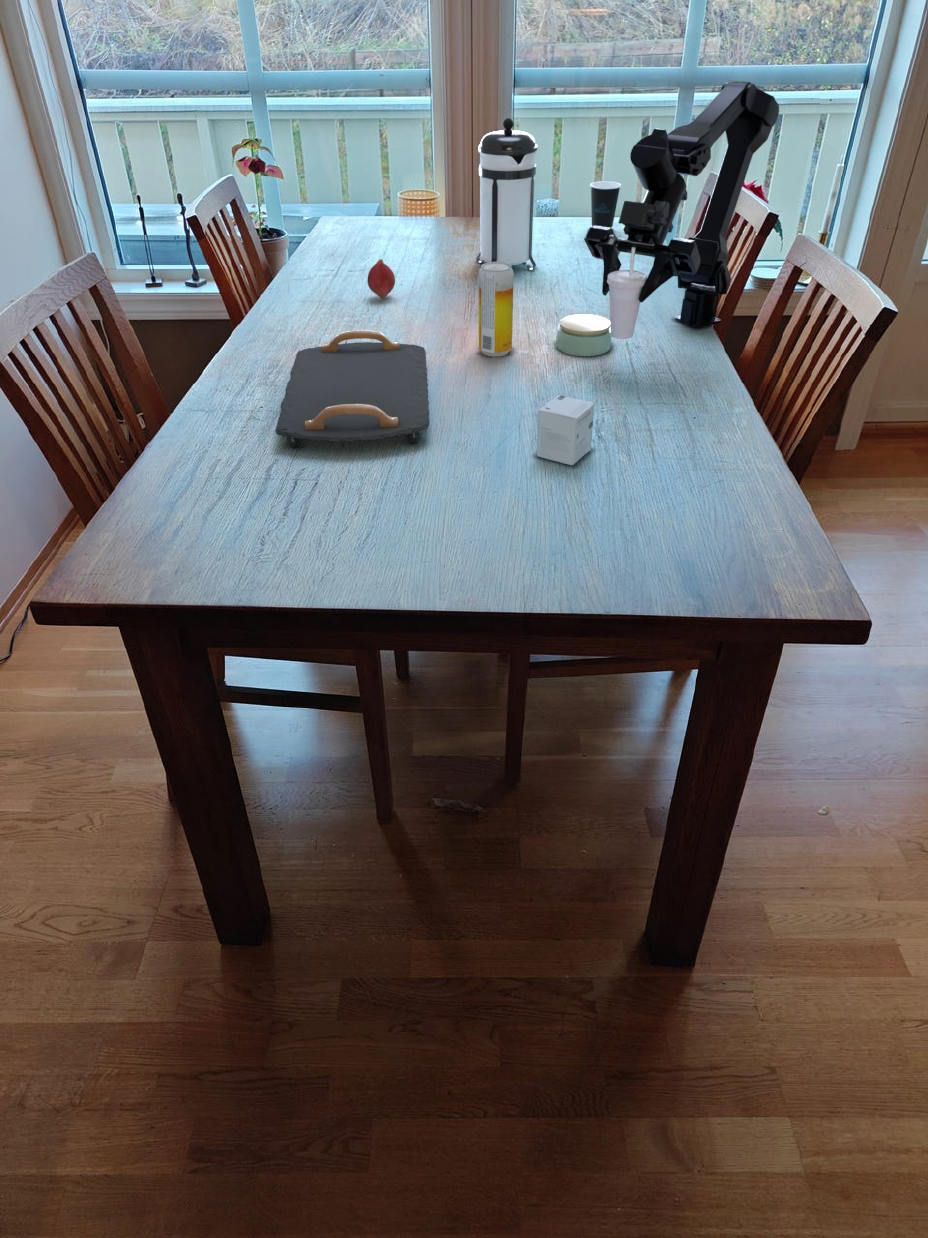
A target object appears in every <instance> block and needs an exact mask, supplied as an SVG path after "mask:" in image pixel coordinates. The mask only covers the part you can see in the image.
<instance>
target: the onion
mask: <svg viewBox="0 0 928 1238" xmlns="http://www.w3.org/2000/svg"><path fill="white" fill-rule="evenodd" d="M367 285H368V288H369V289H370V291H371V292H372V293H373V294H375V295H376V296H377V297H379V298H380V299H386V298H387V296H388V295H389V294H390V293H391V292H392V291H393V289H394V287H395V285H396V277H395V273H394V271H393V270H392V269H391V267H390V266H389V265H387V264H385V263H384V261H383V259H382V258H379V259H378V261H377V262H376V263H375V264H373V266H372V267H371V268H370V269H369V271H368V273H367Z"/></svg>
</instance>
